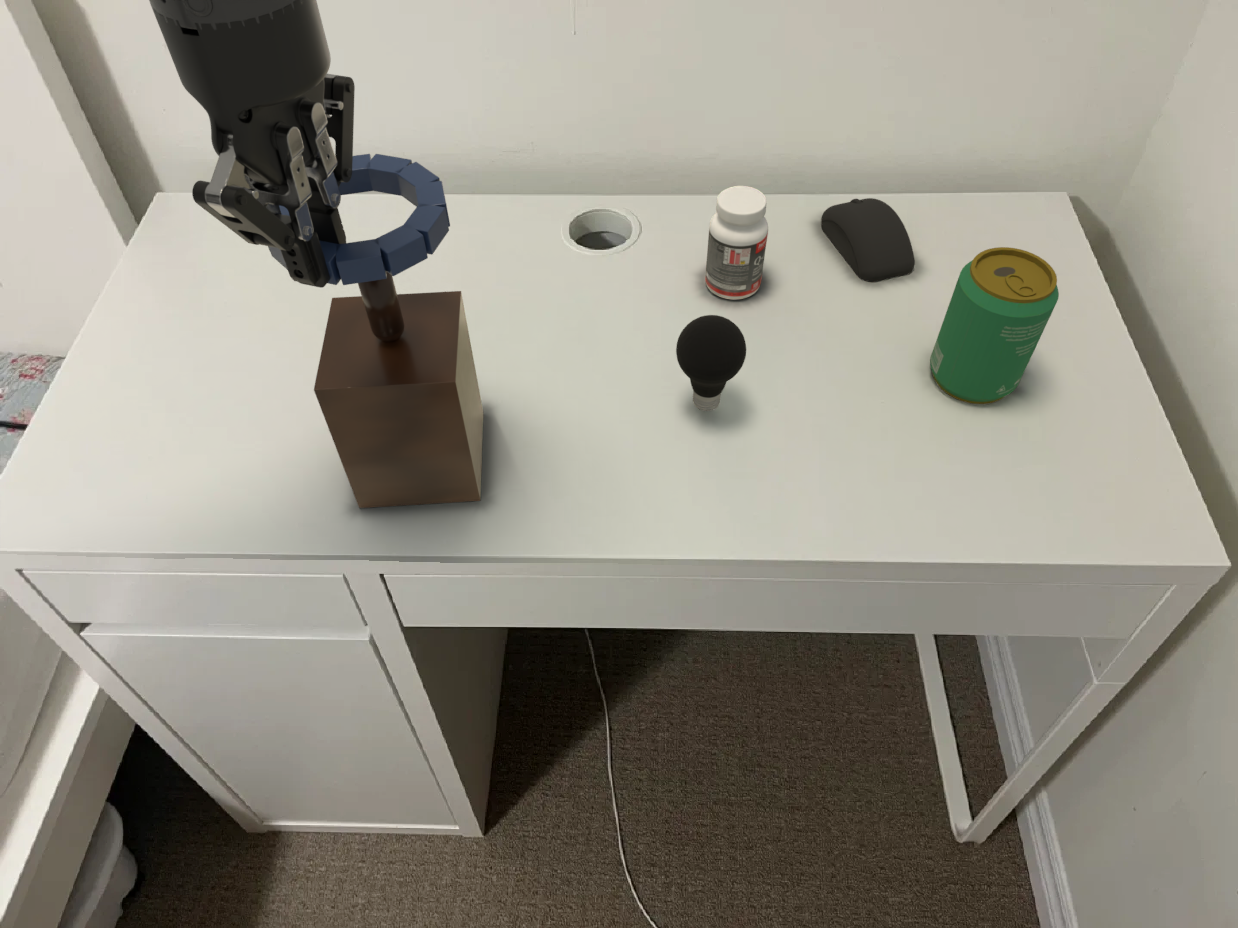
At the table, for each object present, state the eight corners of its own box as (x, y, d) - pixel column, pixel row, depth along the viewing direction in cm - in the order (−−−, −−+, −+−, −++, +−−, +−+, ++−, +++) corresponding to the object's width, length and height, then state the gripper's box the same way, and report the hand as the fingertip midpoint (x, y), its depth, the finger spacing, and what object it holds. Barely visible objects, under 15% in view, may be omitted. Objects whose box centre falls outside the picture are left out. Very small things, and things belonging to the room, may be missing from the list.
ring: (269, 296, 56) (259, 273, 54) (271, 190, 63) (263, 167, 61) (458, 268, 57) (454, 244, 56) (439, 167, 64) (434, 144, 63)
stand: (359, 508, 75) (279, 302, 58) (371, 418, 81) (303, 209, 64) (480, 500, 75) (437, 293, 58) (483, 412, 82) (445, 202, 65)
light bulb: (749, 421, 81) (762, 337, 73) (689, 439, 79) (695, 356, 72) (720, 377, 84) (730, 293, 77) (662, 394, 83) (666, 310, 75)
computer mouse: (867, 210, 101) (874, 178, 98) (918, 271, 94) (928, 239, 91) (815, 221, 99) (821, 189, 96) (863, 284, 93) (871, 252, 90)
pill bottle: (762, 302, 91) (774, 218, 83) (705, 301, 91) (712, 218, 83) (758, 265, 95) (769, 182, 87) (703, 265, 95) (710, 182, 87)
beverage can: (983, 338, 87) (1025, 234, 78) (1034, 394, 83) (1085, 291, 73) (910, 358, 86) (944, 254, 76) (958, 417, 81) (1001, 314, 72)
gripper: (238, -82, 48) (323, 198, 62) (68, 35, 40) (208, 330, 53) (365, -67, 47) (424, 217, 60) (217, 58, 39) (322, 355, 52)
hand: (322, 269), depth 57 cm, fingers closed on ring, 2 cm apart
